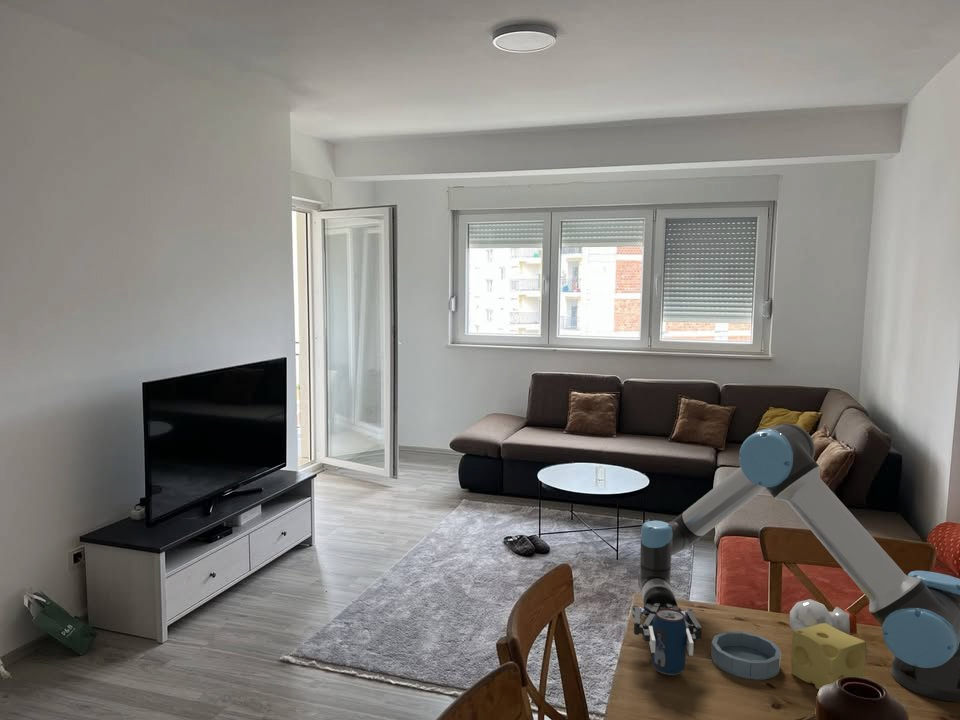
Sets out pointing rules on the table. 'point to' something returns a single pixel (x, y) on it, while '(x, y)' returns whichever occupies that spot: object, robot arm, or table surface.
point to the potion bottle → (821, 617)
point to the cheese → (826, 655)
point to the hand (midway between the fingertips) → (672, 647)
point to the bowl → (746, 655)
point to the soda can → (669, 641)
